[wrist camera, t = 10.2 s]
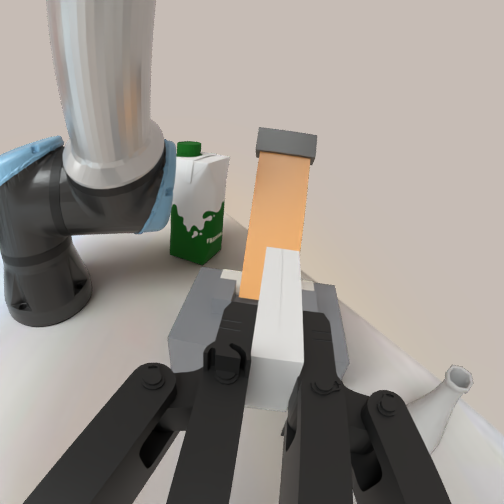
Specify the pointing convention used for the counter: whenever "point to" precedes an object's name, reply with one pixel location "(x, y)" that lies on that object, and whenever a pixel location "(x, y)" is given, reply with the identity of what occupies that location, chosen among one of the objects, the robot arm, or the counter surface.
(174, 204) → the milk carton
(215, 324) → the switch box
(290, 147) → the lever
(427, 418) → the flask
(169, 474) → the counter surface
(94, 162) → the robot arm
